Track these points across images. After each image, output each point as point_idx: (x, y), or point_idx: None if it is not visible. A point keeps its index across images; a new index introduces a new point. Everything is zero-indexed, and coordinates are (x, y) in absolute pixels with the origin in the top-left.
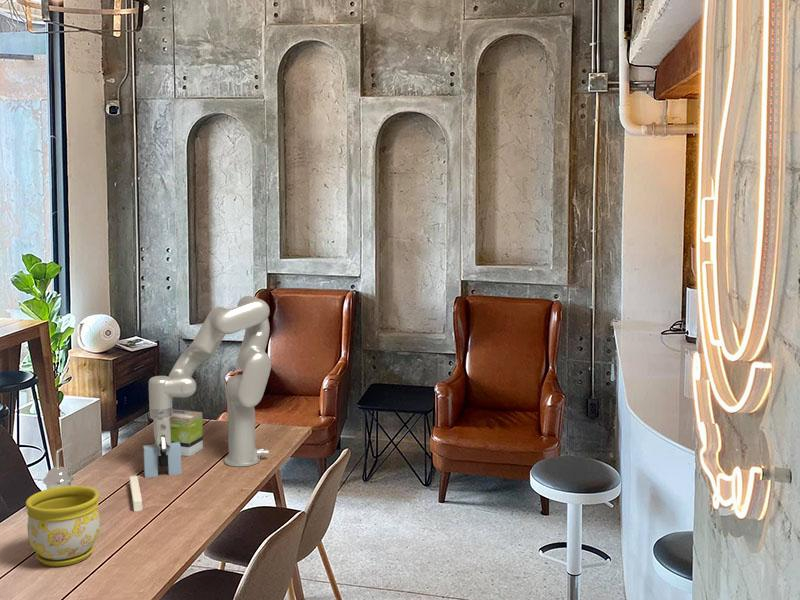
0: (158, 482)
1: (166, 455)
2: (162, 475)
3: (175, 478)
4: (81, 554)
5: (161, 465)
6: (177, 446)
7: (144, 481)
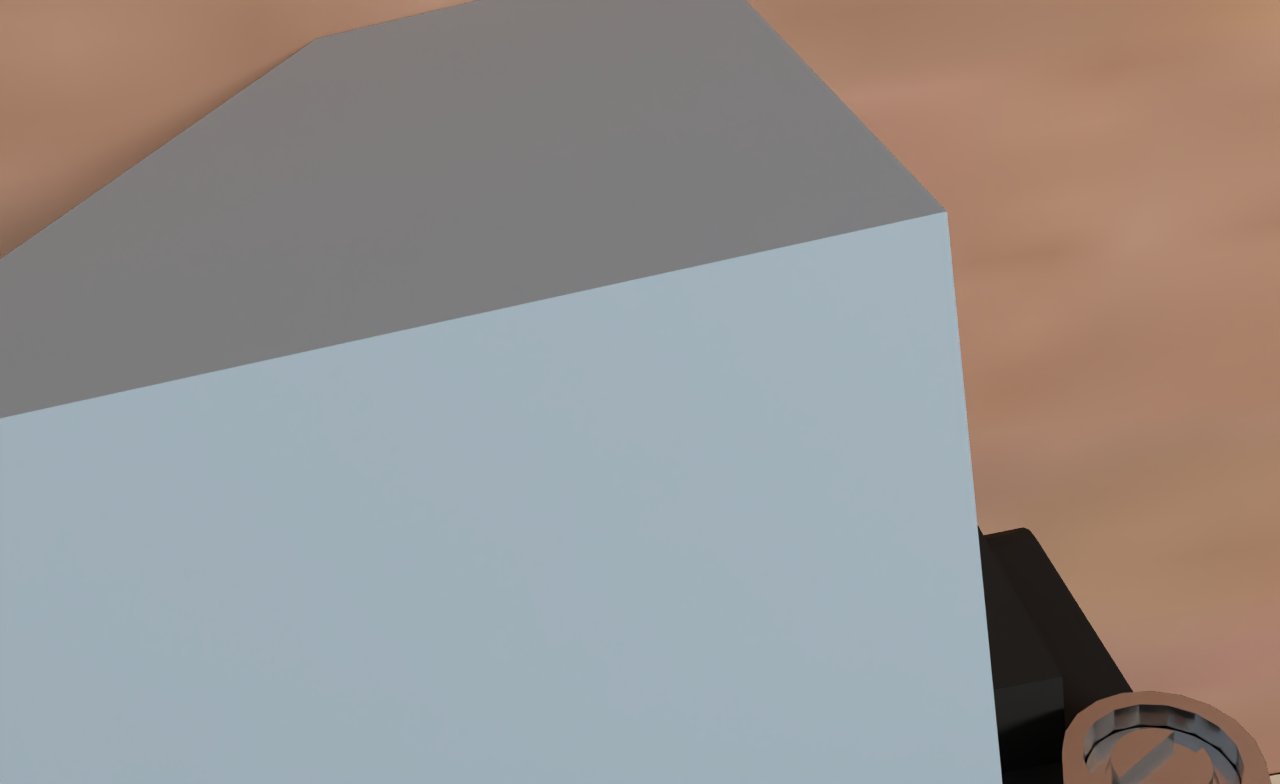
0: (1216, 449)
1: (1160, 724)
2: None
3: (1049, 81)
4: None
5: None
6: (956, 475)
7: None
